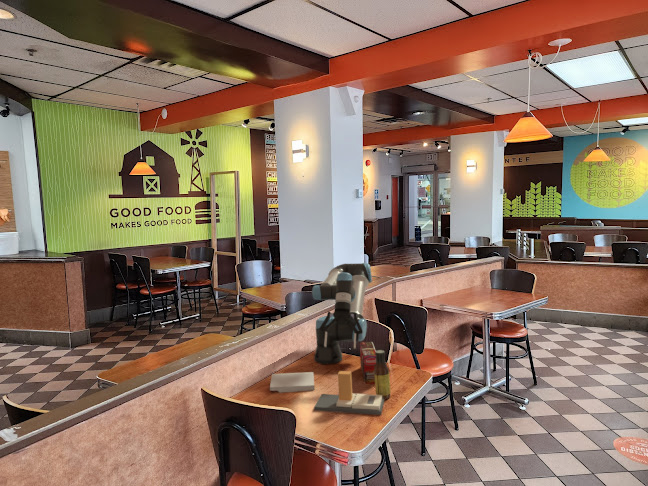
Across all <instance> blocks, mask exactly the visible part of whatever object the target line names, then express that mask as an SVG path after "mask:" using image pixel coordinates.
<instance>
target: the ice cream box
mask: <svg viewBox="0 0 648 486" xmlns="http://www.w3.org/2000/svg"><path fill="white" fill-rule="evenodd" d="M375 351H377V350H376V348H375V345H374V343H373V341H359V354H360V356H359V357H360V358H359V361H360V369H361V374H362V377H363V382H364V385H375V375H374V373H375V372H374V366H375V364H376V355H375Z"/></svg>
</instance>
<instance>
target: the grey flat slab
mask: <svg viewBox="0 0 648 486" xmlns="http://www.w3.org/2000/svg"><path fill="white" fill-rule="evenodd" d="M314 376H315V375H314V371H309V372H306V371H305V372H286V373H272V374H271V379H270V384H269V385H270V386H269V391H273V392H276V391H277V392H278V393H279V394H281V393H294V392H308V391H315V377H314Z"/></svg>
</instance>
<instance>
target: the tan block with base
mask: <svg viewBox="0 0 648 486" xmlns="http://www.w3.org/2000/svg"><path fill="white" fill-rule="evenodd" d="M352 375H353V374H352V371H350V370H349V371H348V370H347V371H345V370H339V371H338V373H337V382H338V395H339V399H338V401H337V403H336V406H337V407H351V406H352V402H353V400H354V397H355V395H356V393H354V392H353V379H352V378H353V377H352Z"/></svg>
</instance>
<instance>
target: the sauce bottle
mask: <svg viewBox="0 0 648 486" xmlns="http://www.w3.org/2000/svg"><path fill="white" fill-rule="evenodd" d="M375 355H376V364H375V366H374V372H375V373H374V375H375V384H374V386H375V395H382V397H383V398H384V400H388V399H389V398H391V392H392V391H391V382H390V381H391V380H390V371H389V369H390V368H389V367H388V365H387V361H386V357H385V356H386V353H385V351H384V350H382V349H378V350H376V351H375Z"/></svg>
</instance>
